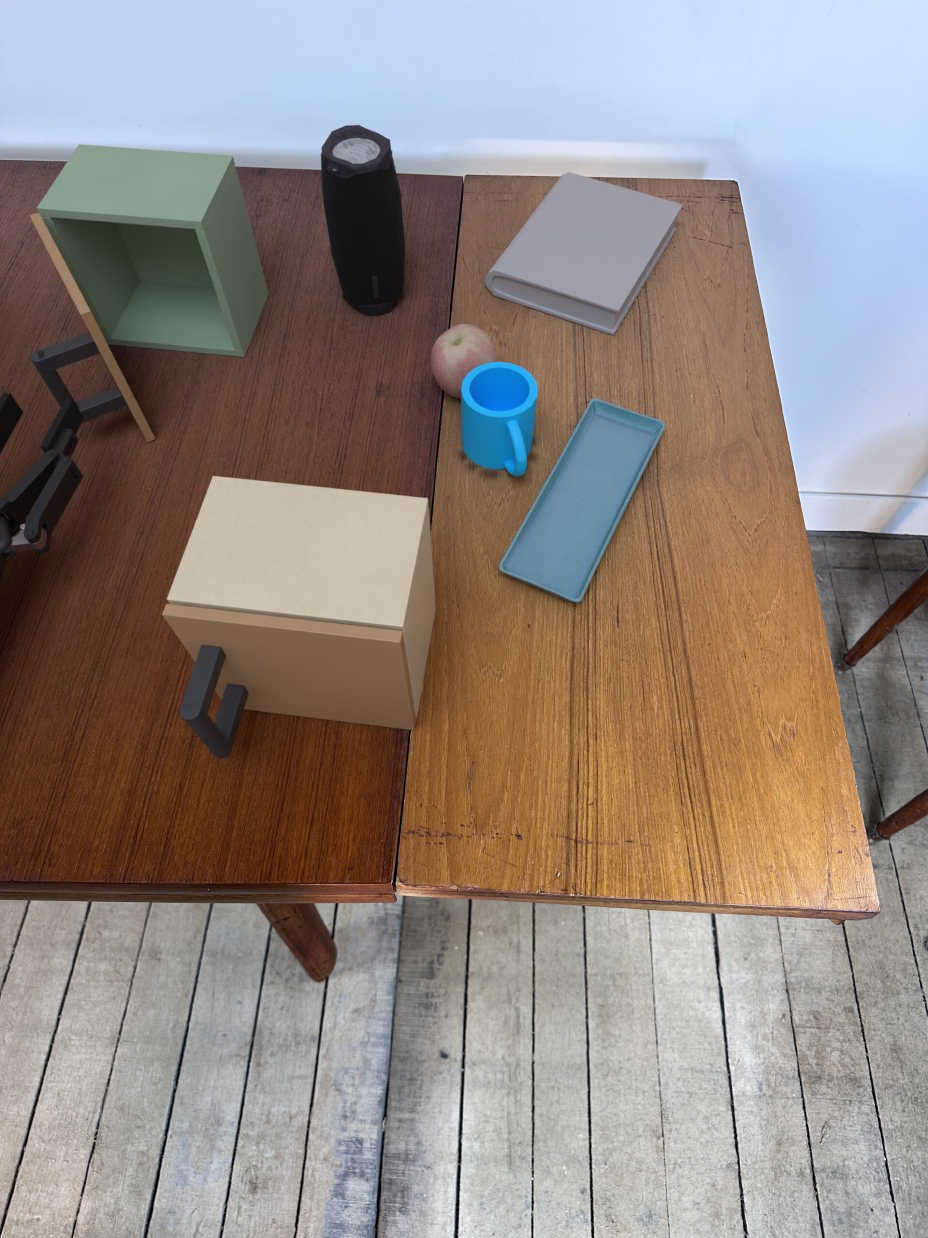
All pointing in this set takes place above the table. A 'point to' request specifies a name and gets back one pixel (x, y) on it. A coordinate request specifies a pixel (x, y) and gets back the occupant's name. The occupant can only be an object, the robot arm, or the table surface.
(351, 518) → the cream cupboard
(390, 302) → the portable speaker
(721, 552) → the table surface
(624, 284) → the book
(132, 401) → the tan wooden panel
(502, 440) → the mug
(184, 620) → the beige drawer front
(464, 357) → the apple
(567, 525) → the rectangular tray
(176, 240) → the green cupboard
